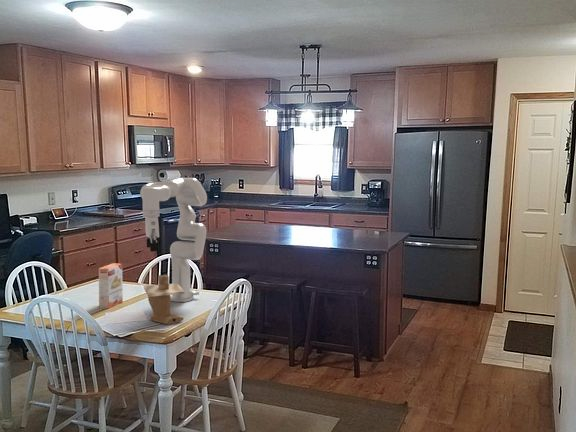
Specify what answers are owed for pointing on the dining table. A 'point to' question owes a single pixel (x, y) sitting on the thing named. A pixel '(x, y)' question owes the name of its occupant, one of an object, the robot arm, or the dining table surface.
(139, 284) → the dining table surface
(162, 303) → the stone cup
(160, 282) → the lid
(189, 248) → the robot arm
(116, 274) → the cracker box
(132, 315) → the mat
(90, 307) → the dining table surface
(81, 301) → the dining table surface
